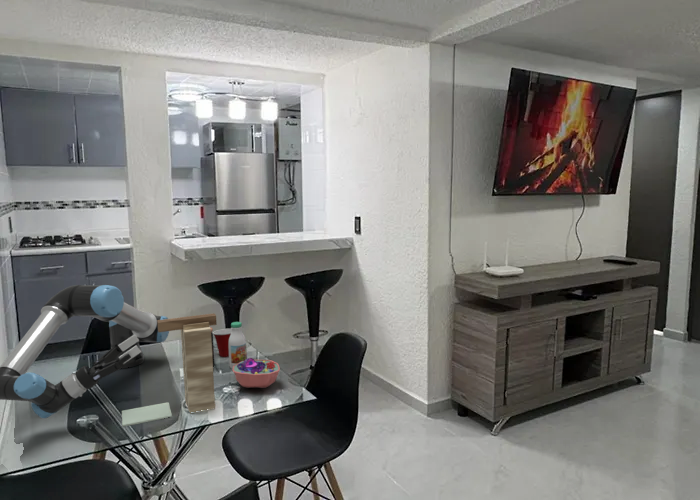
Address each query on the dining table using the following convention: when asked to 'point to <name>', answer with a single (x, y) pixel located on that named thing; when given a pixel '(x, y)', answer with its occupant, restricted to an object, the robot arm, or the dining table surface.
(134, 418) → the mat
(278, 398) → the dining table surface
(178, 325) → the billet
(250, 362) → the cell model
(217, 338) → the plastic cup
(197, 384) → the wooden block tower
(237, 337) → the milk bottle
